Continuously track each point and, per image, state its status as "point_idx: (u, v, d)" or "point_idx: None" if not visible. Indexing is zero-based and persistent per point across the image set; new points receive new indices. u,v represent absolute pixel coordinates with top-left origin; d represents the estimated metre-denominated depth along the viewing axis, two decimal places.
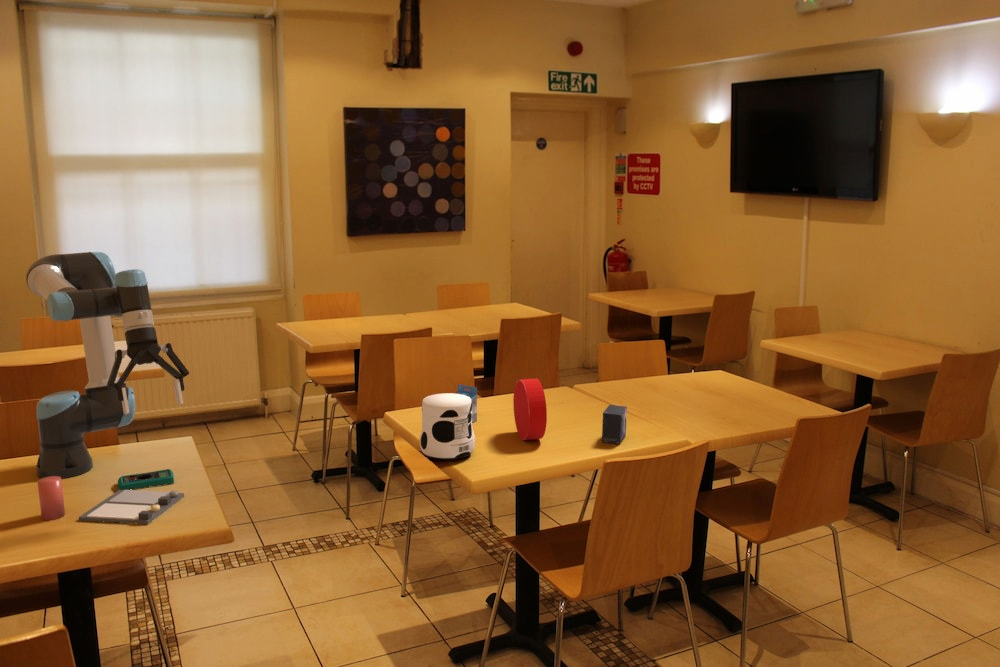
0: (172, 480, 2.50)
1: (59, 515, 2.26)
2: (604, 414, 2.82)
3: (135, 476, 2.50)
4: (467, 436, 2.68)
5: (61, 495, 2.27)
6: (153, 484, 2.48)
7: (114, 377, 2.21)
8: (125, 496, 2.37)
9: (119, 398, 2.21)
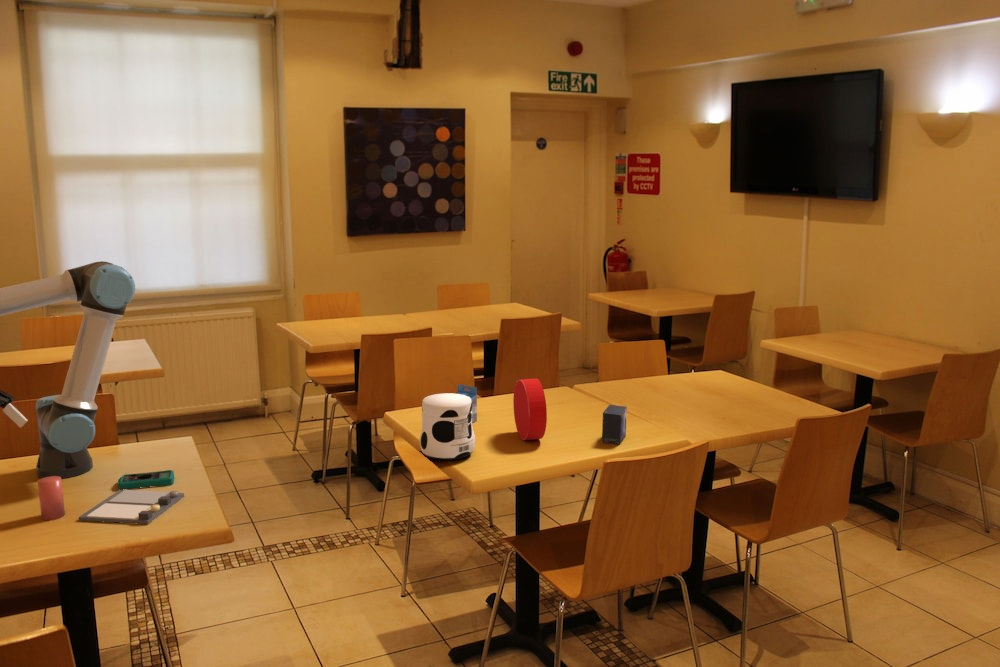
0: (170, 482, 2.49)
1: (59, 515, 2.26)
2: (604, 414, 2.83)
3: (136, 475, 2.51)
4: (467, 436, 2.68)
5: (61, 495, 2.27)
6: (151, 484, 2.48)
7: None
8: (125, 496, 2.37)
9: None
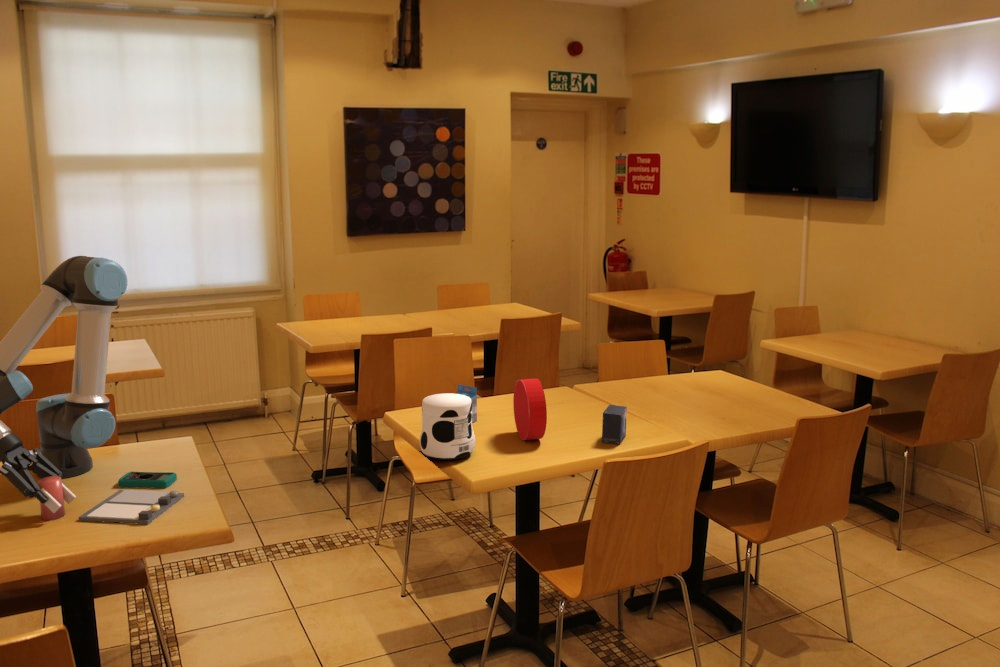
0: (164, 485, 2.46)
1: (59, 515, 2.26)
2: (604, 414, 2.83)
3: (140, 474, 2.52)
4: (467, 436, 2.68)
5: (61, 495, 2.27)
6: (147, 485, 2.47)
7: None
8: (125, 496, 2.37)
9: None
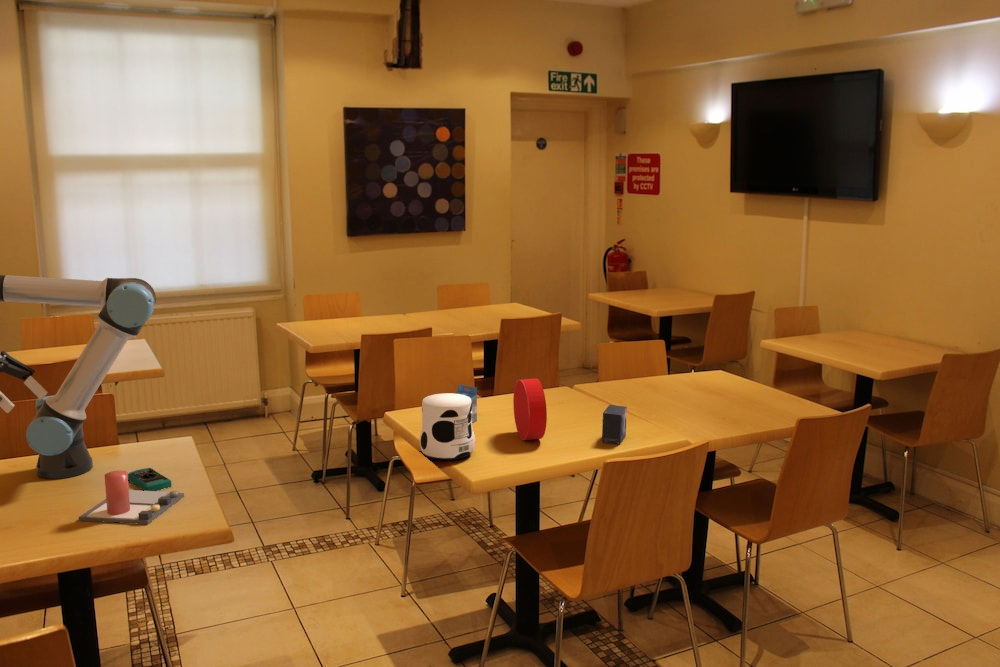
0: (146, 489, 2.43)
1: (125, 510, 2.26)
2: (604, 414, 2.82)
3: (150, 472, 2.53)
4: (467, 436, 2.68)
5: (127, 490, 2.26)
6: (139, 485, 2.47)
7: None
8: None
9: None
